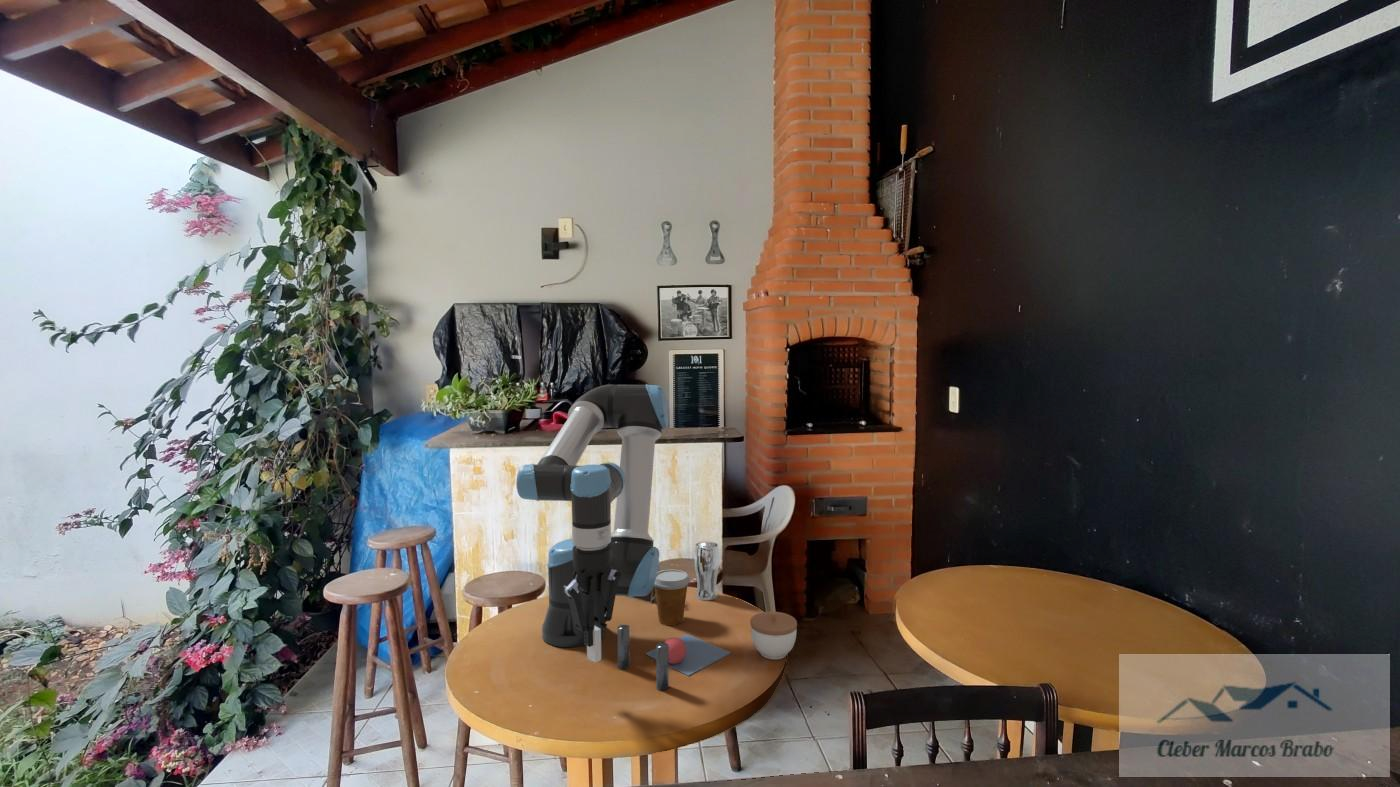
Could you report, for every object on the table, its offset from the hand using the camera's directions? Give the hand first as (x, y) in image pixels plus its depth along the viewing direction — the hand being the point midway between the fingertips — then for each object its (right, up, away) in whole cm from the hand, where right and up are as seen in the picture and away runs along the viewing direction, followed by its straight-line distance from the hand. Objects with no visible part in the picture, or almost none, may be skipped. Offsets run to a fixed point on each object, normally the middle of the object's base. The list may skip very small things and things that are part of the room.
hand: (594, 658), depth 127 cm
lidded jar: (+38, -7, +20) cm, 44 cm away
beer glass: (+23, -5, +54) cm, 59 cm away
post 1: (+4, -8, +14) cm, 16 cm away
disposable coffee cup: (+14, -6, +38) cm, 41 cm away
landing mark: (+18, -7, +20) cm, 28 cm away
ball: (+15, -5, +15) cm, 22 cm away
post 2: (+13, -8, +5) cm, 16 cm away
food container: (+5, -5, +54) cm, 54 cm away
